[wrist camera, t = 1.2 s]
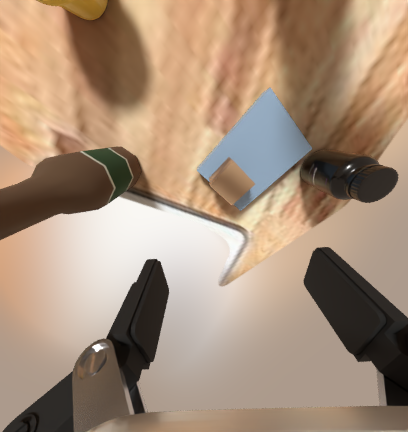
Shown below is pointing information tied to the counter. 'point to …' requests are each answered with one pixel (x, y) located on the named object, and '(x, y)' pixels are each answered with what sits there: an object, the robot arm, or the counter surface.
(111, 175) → the beer bottle
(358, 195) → the supplement bottle
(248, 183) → the block
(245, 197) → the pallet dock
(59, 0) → the plant pot
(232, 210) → the counter surface
